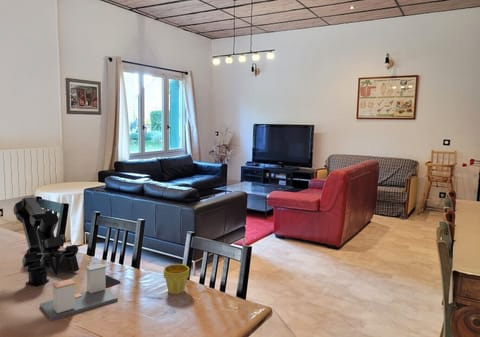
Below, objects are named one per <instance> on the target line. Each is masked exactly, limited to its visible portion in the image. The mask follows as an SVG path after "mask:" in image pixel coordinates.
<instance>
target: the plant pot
mask: <svg viewBox="0 0 480 337" xmlns="http://www.w3.org/2000/svg"><path fill="white" fill-rule="evenodd" d="M189 277H190V266H187V265H186V264H181V263H174V264H169V265H167V266H165V267H164V268H163V278H164V279H165V282H166V287H167V292H168V294H171V295H180V293H181V294H183V293H184V292H185V290H186V285H187V280H188V279H189Z"/></svg>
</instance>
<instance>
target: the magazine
mask: <svg viewBox="0 0 480 337" xmlns="http://www.w3.org/2000/svg"><path fill="white" fill-rule="evenodd" d="M58 250H59V251H61V250H62V249H61V250H60V249H58ZM28 252H29V248H27V250H26V253H28ZM53 260H54V258H53V257H52V261H53ZM46 270H49V269H48V268H46ZM78 271H80V267H79V262H78V259H77V255H76V256H75V257H72V258H65V257H64V256H63V258H62V260H61V261H60V262H59V269H58V272H67V273H68V272H69V273H71V272H72V273H76V272H78Z"/></svg>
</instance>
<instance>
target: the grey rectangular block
mask: <svg viewBox="0 0 480 337" xmlns="http://www.w3.org/2000/svg"><path fill="white" fill-rule="evenodd" d="M85 269H86V291H89V292H90V293H94V292H97V291H101V290H105V289H107V288H106V280H105V275H106V269H107V266H106V265H105V264H103V263H96V264H93V265H88V266H86V267H85Z"/></svg>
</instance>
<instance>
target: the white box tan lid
mask: <svg viewBox="0 0 480 337" xmlns="http://www.w3.org/2000/svg"><path fill="white" fill-rule="evenodd" d="M51 284H52V295H53V296H52V300H53V309H54V310H55V311H56V313H60V312H64V311H67V310H70V309H74V308H75V294H76V293H75V292H76V290H75V287H76V286H75V285H76V282H75V281H74V280H73V279H72V278H69V279H64V280H61V281H57V282H52V283H51Z"/></svg>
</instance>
